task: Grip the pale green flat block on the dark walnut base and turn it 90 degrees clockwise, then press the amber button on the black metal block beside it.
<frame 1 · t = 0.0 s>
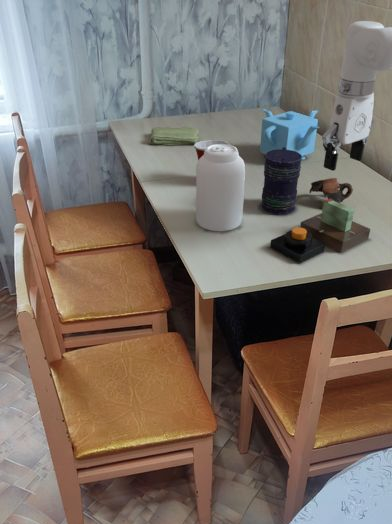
hand: (342, 163, 130), 19 cm above the table, tool pointing down, fingers open, 9 cm apart
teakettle: (288, 157, 186), on the table
pottery mug: (328, 203, 158), on the table
holder base: (333, 235, 142), on the table
washcloth: (174, 140, 199), on the table
plastic cup: (211, 182, 169), on the table
storage jar: (278, 208, 155), on the table
pale green flat block: (337, 214, 138), point 6 cm above the table, hinge at 0.0°
can: (219, 222, 148), on the table
button: (299, 233, 134), point 4 cm above the table, slide at 0.1 cm
button block: (296, 249, 136), on the table
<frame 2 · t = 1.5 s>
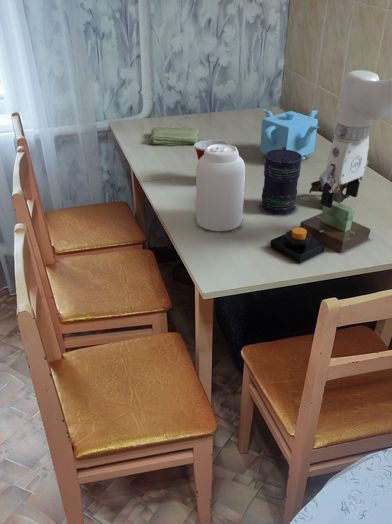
hand: (338, 200, 136), 10 cm above the table, tool pointing down, fingers open, 9 cm apart
nothing on the table moved.
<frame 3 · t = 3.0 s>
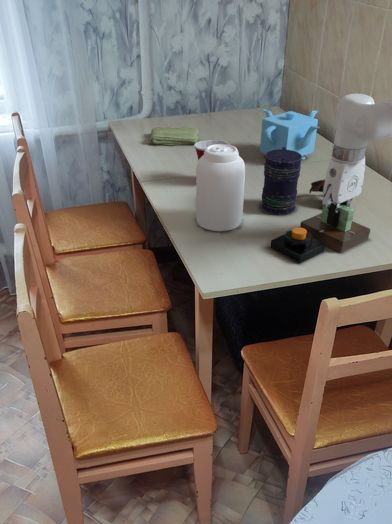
hand: (335, 222, 140), 4 cm above the table, tool pointing down, fingers closed on pale green flat block, 2 cm apart
pale green flat block: (337, 214, 138), point 6 cm above the table, hinge at 0.0°, touching gripper
everything else where it was.
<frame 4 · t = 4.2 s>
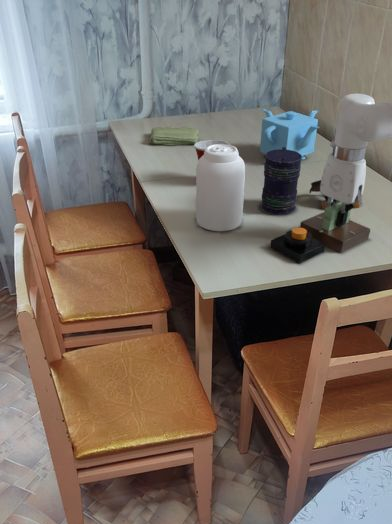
hand: (336, 222, 140), 4 cm above the table, tool pointing down, fingers closed on pale green flat block, 2 cm apart
pale green flat block: (337, 214, 138), point 6 cm above the table, hinge at -89.7°, touching gripper
everything else where it was.
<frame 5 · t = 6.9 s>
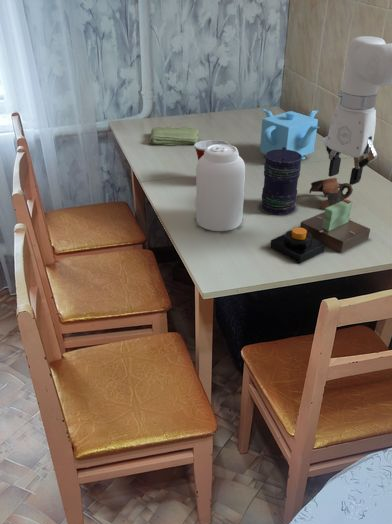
hand: (343, 178, 132), 16 cm above the table, tool pointing down, fingers open, 5 cm apart
pale green flat block: (337, 214, 138), point 6 cm above the table, hinge at -89.5°
everything else where it was.
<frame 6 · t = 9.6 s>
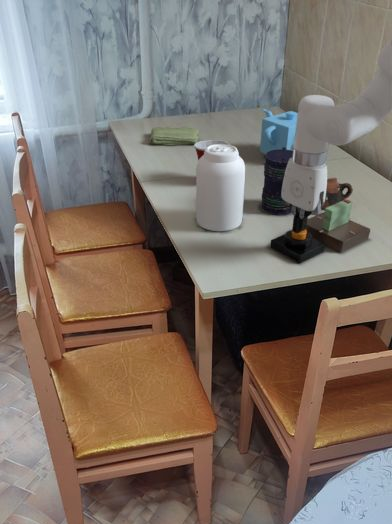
hand: (298, 230, 133), 5 cm above the table, tool pointing down, fingers closed
button: (299, 233, 134), point 4 cm above the table, slide at 0.0 cm, touching gripper
everything else where it was.
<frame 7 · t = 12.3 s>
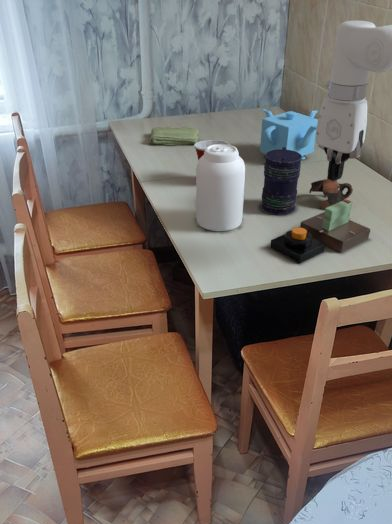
hand: (334, 178, 123), 19 cm above the table, tool pointing down, fingers closed
button: (299, 233, 134), point 4 cm above the table, slide at 0.1 cm
everything else where it was.
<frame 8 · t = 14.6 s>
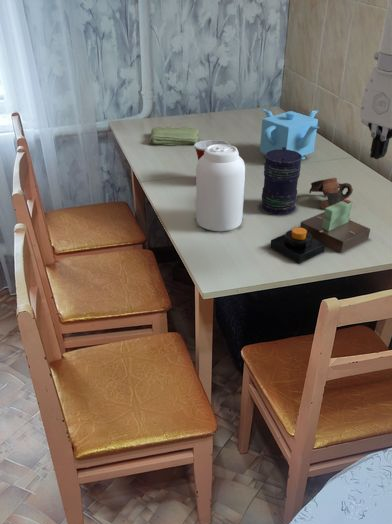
hand: (377, 156, 117), 25 cm above the table, tool pointing down, fingers closed
nothing on the table moved.
at the end: pale green flat block at -90° (first picture: +0°); button pushed in 1.1 cm at the most during the clip, back to where it started at the end; button slide at 0.1 cm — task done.
